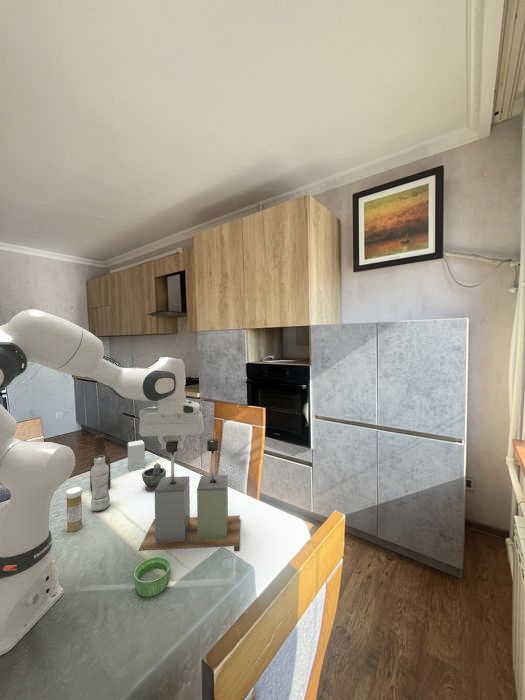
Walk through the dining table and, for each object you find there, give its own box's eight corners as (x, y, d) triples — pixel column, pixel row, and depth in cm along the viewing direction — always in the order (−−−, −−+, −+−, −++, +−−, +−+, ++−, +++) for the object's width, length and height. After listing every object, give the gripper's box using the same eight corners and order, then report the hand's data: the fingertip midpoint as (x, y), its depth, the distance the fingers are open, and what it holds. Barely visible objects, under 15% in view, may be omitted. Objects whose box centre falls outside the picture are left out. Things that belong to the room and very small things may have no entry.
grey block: (184, 540, 93) (184, 489, 92) (155, 542, 92) (154, 490, 92) (189, 523, 102) (189, 476, 101) (163, 524, 101) (162, 477, 101)
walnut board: (239, 550, 90) (239, 545, 90) (138, 555, 88) (138, 550, 88) (239, 519, 106) (239, 515, 106) (154, 523, 104) (154, 518, 104)
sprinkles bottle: (69, 525, 103) (69, 487, 103) (84, 523, 104) (83, 485, 104) (64, 533, 99) (63, 493, 99) (79, 531, 100) (79, 492, 100)
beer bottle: (91, 487, 130) (90, 433, 130) (111, 484, 133) (110, 431, 133) (89, 496, 123) (88, 438, 123) (110, 492, 126) (109, 436, 126)
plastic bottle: (113, 504, 117) (112, 453, 116) (102, 514, 110) (101, 460, 110) (98, 503, 117) (97, 453, 117) (86, 513, 111) (85, 460, 110)
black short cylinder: (182, 504, 93) (181, 444, 93) (158, 505, 93) (157, 445, 92) (186, 492, 100) (186, 437, 100) (164, 493, 100) (163, 437, 100)
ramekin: (134, 576, 80) (134, 561, 80) (169, 567, 84) (169, 552, 83) (132, 604, 72) (132, 586, 72) (171, 592, 75) (171, 576, 75)
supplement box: (145, 468, 150) (144, 443, 150) (129, 471, 147) (128, 446, 146) (143, 463, 157) (142, 439, 156) (127, 466, 153) (127, 442, 153)
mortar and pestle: (140, 486, 132) (140, 459, 131) (161, 480, 137) (161, 454, 137) (147, 496, 122) (146, 467, 122) (169, 490, 128) (169, 462, 128)
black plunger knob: (223, 503, 94) (223, 443, 93) (200, 504, 93) (199, 444, 93) (225, 491, 101) (224, 436, 101) (203, 492, 101) (202, 436, 100)
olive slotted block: (226, 538, 93) (226, 487, 93) (197, 540, 93) (197, 488, 92) (227, 521, 102) (227, 475, 102) (201, 522, 102) (201, 475, 101)
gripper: (135, 409, 92) (136, 453, 92) (201, 407, 93) (202, 451, 94) (142, 404, 98) (142, 446, 99) (204, 403, 100) (204, 444, 100)
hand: (172, 448), depth 96 cm, fingers closed on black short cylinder, 4 cm apart
